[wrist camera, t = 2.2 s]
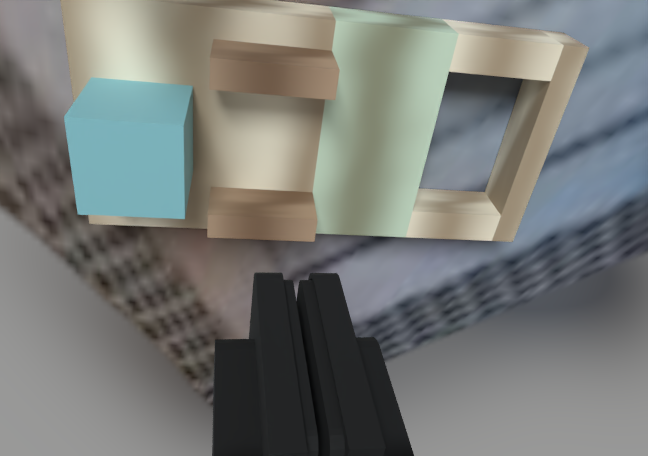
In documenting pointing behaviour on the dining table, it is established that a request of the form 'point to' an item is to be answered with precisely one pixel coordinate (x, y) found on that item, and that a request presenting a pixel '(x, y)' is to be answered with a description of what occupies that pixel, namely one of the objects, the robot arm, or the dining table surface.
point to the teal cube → (131, 148)
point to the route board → (326, 111)
